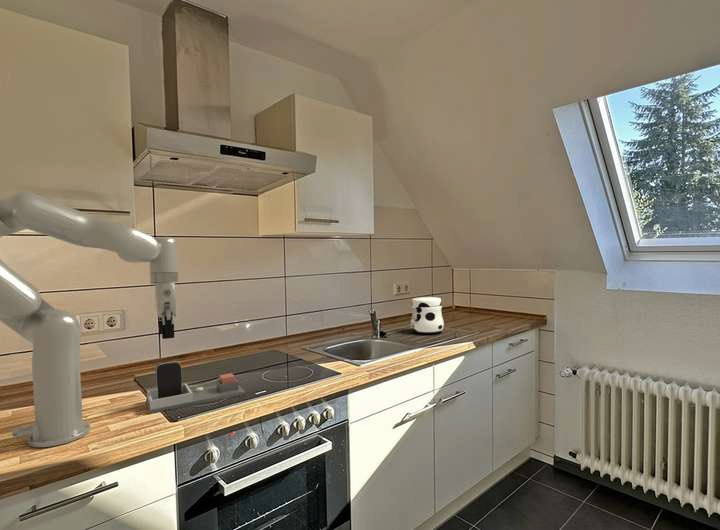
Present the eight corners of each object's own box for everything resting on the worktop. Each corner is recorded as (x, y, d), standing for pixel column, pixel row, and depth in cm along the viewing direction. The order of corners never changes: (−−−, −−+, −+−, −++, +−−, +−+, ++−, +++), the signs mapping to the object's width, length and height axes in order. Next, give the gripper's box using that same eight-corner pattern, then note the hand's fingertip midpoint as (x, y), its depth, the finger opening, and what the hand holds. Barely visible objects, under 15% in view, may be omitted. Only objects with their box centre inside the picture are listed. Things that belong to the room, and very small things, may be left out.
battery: (180, 395, 128) (179, 358, 127) (183, 398, 125) (181, 361, 124) (155, 400, 124) (154, 362, 124) (157, 403, 121) (156, 365, 120)
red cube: (222, 391, 130) (222, 378, 130) (219, 387, 133) (219, 375, 133) (235, 388, 132) (234, 376, 132) (232, 385, 135) (231, 373, 135)
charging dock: (149, 414, 116) (148, 401, 115) (146, 401, 126) (145, 390, 126) (245, 394, 130) (244, 383, 129) (235, 384, 140) (234, 374, 140)
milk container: (448, 330, 222) (447, 297, 221) (436, 336, 207) (435, 301, 206) (418, 328, 231) (418, 296, 230) (405, 334, 216) (404, 300, 216)
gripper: (182, 279, 117) (184, 338, 118) (174, 277, 132) (176, 330, 133) (152, 280, 114) (155, 342, 114) (148, 278, 128) (150, 332, 129)
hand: (166, 335), depth 123 cm, fingers open, 9 cm apart
